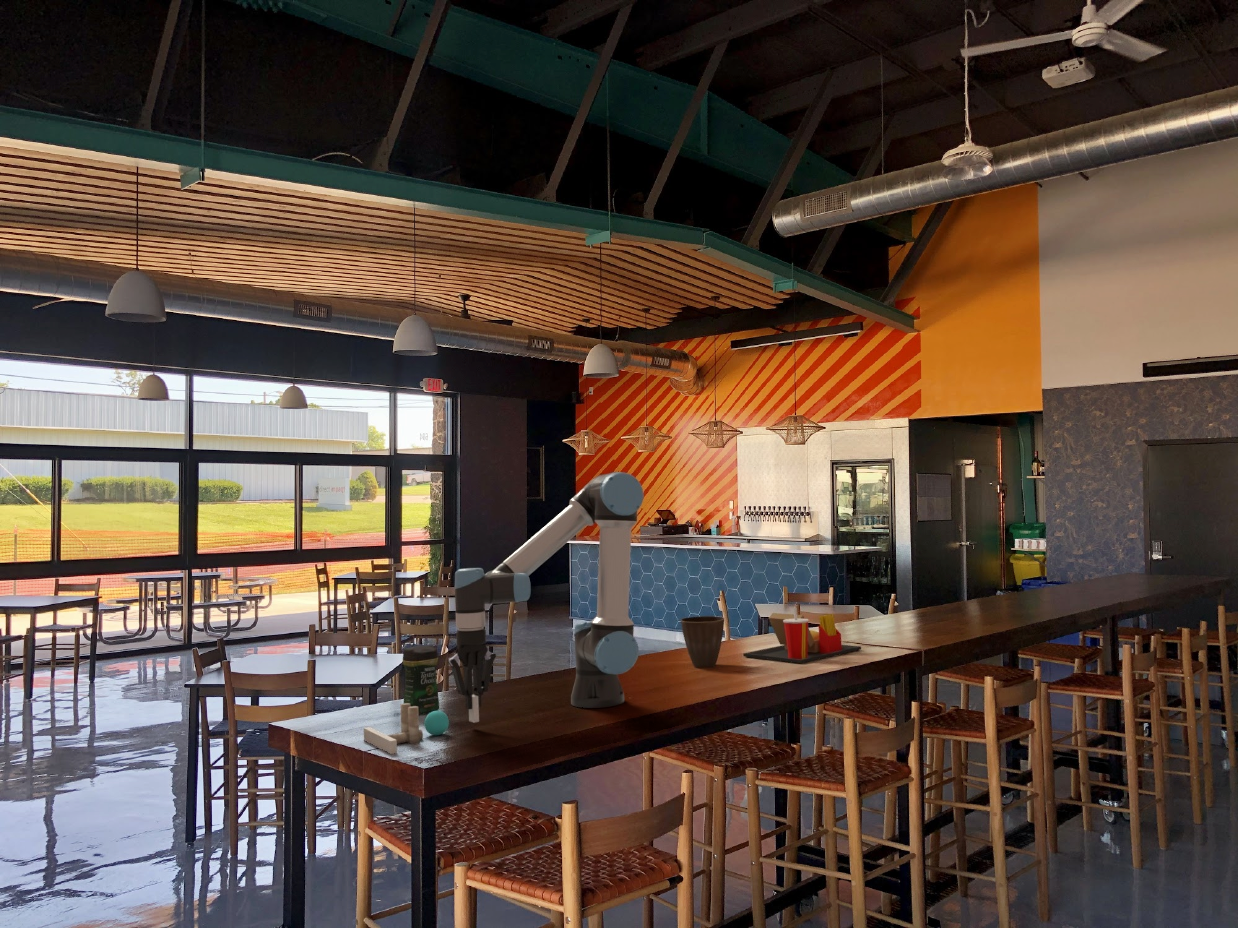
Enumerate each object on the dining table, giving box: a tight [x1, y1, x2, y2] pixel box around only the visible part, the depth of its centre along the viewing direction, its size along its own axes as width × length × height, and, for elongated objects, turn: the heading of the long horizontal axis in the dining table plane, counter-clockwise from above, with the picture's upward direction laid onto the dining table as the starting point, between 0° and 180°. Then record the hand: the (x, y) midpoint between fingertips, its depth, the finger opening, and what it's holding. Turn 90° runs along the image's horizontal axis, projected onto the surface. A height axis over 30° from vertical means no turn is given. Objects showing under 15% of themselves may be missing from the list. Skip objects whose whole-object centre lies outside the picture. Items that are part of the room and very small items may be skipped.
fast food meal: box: [742, 606, 862, 665], centre depth 332 cm, size 26×35×18 cm
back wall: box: [363, 726, 398, 755], centre depth 223 cm, size 2×18×3 cm, turn 35°
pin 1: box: [399, 702, 410, 733], centre depth 229 cm, size 2×2×8 cm
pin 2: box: [408, 706, 420, 745], centre depth 225 cm, size 2×2×8 cm
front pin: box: [386, 728, 424, 745], centre depth 226 cm, size 2×2×8 cm
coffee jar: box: [402, 644, 440, 716], centre depth 260 cm, size 10×8×19 cm
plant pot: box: [680, 615, 725, 669], centre depth 315 cm, size 15×15×16 cm
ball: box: [423, 710, 450, 736], centre depth 232 cm, size 6×6×6 cm
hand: (474, 721), depth 237 cm, fingers closed
